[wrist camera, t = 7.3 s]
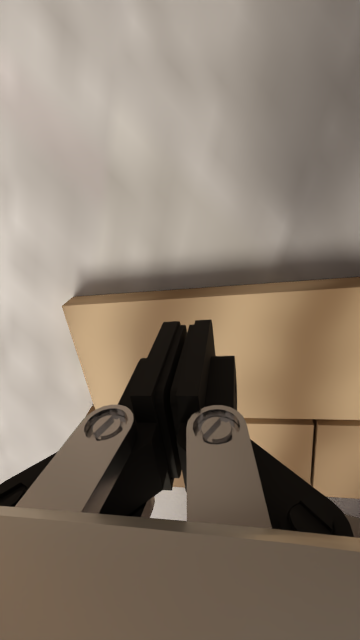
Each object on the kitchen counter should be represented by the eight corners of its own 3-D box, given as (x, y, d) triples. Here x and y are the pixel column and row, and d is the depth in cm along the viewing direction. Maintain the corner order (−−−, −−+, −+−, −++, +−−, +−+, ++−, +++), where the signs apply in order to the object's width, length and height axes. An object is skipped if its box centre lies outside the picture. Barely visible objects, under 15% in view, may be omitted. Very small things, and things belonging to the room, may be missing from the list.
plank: (671, 255, 11) (715, 264, 10) (589, 405, 14) (617, 424, 13) (73, 296, 16) (61, 306, 15) (104, 401, 19) (97, 415, 18)
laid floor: (613, 412, 14) (642, 431, 13) (565, 491, 17) (588, 513, 16) (91, 406, 20) (83, 420, 19) (111, 466, 22) (105, 482, 21)
